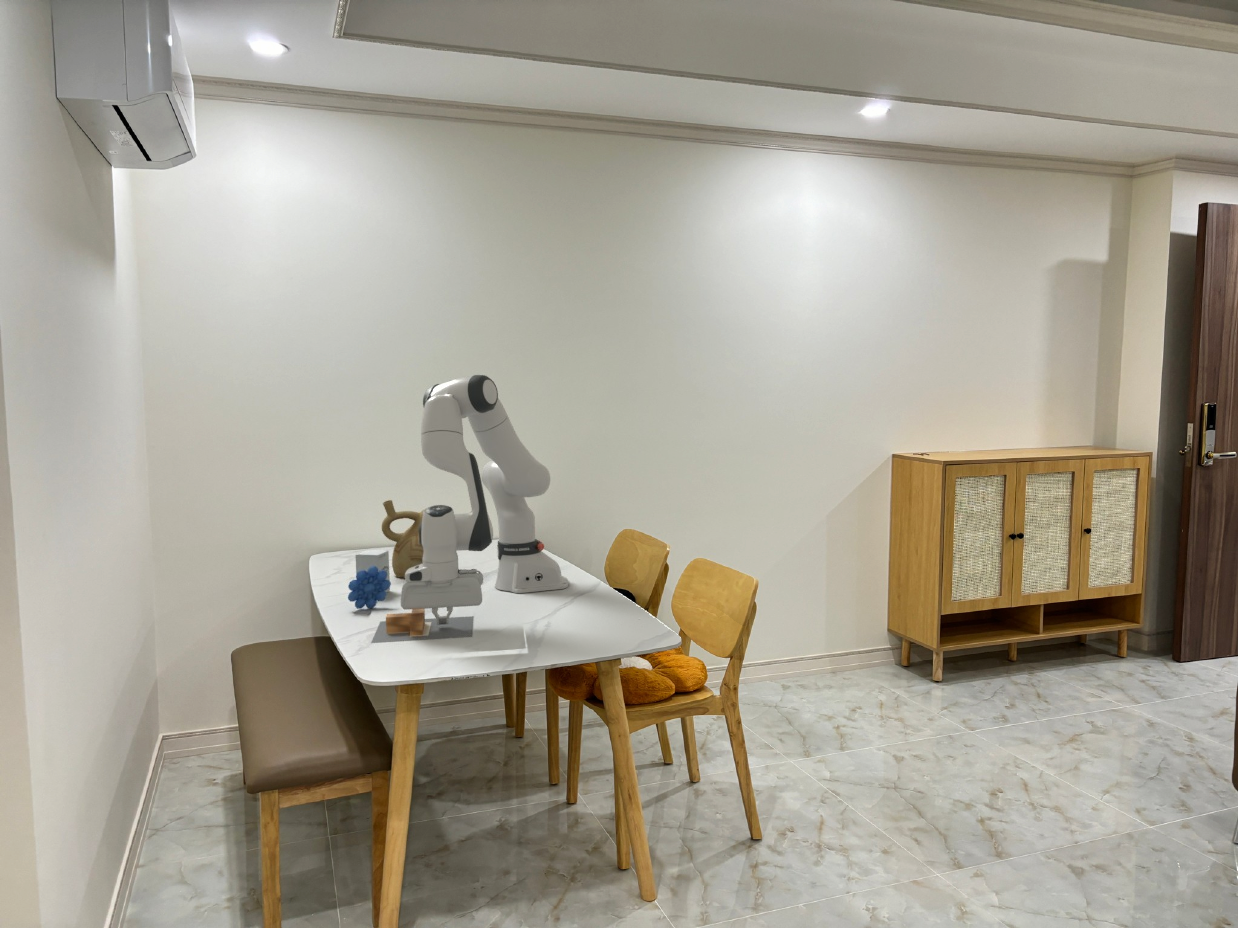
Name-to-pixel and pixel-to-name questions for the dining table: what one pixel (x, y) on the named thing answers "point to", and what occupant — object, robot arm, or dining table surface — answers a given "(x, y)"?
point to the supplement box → (373, 561)
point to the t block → (406, 622)
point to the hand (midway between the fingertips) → (443, 623)
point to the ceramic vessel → (403, 539)
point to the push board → (429, 631)
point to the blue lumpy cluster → (368, 587)
